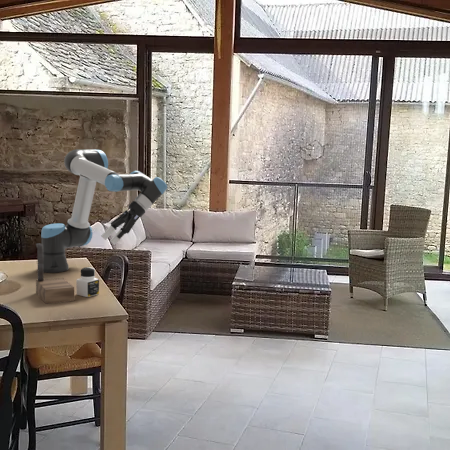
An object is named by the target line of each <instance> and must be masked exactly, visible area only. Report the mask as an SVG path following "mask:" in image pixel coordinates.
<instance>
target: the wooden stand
mask: <svg viewBox="0 0 450 450" xmlns="http://www.w3.org/2000/svg"><path fill="white" fill-rule="evenodd" d="M35 246H36V249H37V252H36V253H37V254H36V255H37V279H36V281H35V292H36V293H35V294H36V295H37V296H38V298H40V299H41V301H42V302H44V303H45V304H47V305H48V304H56V303H57V304H58V303H64V302H65V303H66V302H67V303H68V302H75V286H74V285H72V284H71V283H70V282H69V281H68V280H66V278H64V277H59V278H44V272H43V245H42V243H36V244H35Z"/></svg>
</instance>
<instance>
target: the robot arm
mask: <svg viewBox="0 0 450 450" xmlns="http://www.w3.org/2000/svg"><path fill="white" fill-rule="evenodd" d="M63 159H64V160H63V163H64V167H65V169H66V170H67V171H68V172H70V173H71V174H74V175H76V176H79V179H78V184H77V188H76V194H75V199H74V203H73V208H72V213H71V217H70V218H68V219H67V223H66V225H65V224H64V223H62V222H61V223H59V222H58V223H50V224H46V225H44V226H43V227H42V228H41V235H40V236H41V244H42V245H43V273H50V274H51V273H52V274H54V273H62V272H67V271H69V266H70V265H69V263H68V260H67V257H66V249H69V248H76V247H77V248H79V247H84V246H87V245H89V243H90V242H91V241H92V239H93V235H94V234H93V229H92V226H91V223H90V222H89V219H90V212H91V209H92V203H93V199H94V196H95V195H94V194H95V191H96V185H97V183H98V184H101V185H103V186H105V188H106V190H107V191H109V192H114V193H117V192H128V191H129V192H130V191H139V192H140V193H138V195H137V196H136V197H135V198H134V200H132V202H131V203H130V204H129V205H128V206H127V208H128V209H129V210H125V211H124V212H123V213H122V214H120V215H119V216H118V217H116V218H115V219H114V220H112V221H111V222H110V226H108V228H107V229H106V230H105V231H104V232H103V233H102V235H100V236H101V238H103V239H104V240H105V241H107V239H108V238H109V237H110V236H111V235H112V234H113V233H114V232H115V231H116V230H117V228H119V227H120V226H122V227H121V228H119V230H118V231H117V233H115V235H114V236H113V237H112V238H111V239H110V240H109V242H110V243H111V244H112V245H113V246H115V245H116V244H118V242H119V241H120V240H121V239H122V238H123V237H124V236H125V235H126V234H129V233H130V232H131V230H132V229H133V227H134V225H135V224H136V222H137V221H138V220H139V219H140V218H142V217H143V215H144V214H145V213H146V211H148V210H149V209H151V208H152V206H153V205H154V204H155V202H156V201H157V200H158V199H159V198H160V197H161V196H162V195H164V193H165V192H166V190H168V185H167V183H166V182H165V181H164V179H162V178H161V177H158V176H155V177H154V178H153V179H152V178H150V176H147V175H146V174H145V173H143V172H141V171H140V170H133V171H131V172H130V173H129V174H128V173H125V174H124V173H123V174H121V173H118V172H116V171H114V170H111V169H109V160H108V157H107V155H106V153H105V152H104V151H103V150H101V149H95V148H92V149H80V148H79V149H73V150H70V151H69V152H68V153H67V154H66V155H65V156H64V158H63Z"/></svg>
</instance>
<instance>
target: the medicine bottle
mask: <svg viewBox="0 0 450 450" xmlns="http://www.w3.org/2000/svg"><path fill="white" fill-rule="evenodd" d="M95 270H96V269H95V268H94V267H92V266H91V267H89V266H88V267H83V268H81V269H80V278H76V280H75V281H76V285H75V286H76V288H75V290H76V291H75V293H76V296H81V297H84V298H91V297H93V296H97V295H99V294H100V279H99V278H97V277H96V272H95Z"/></svg>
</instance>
